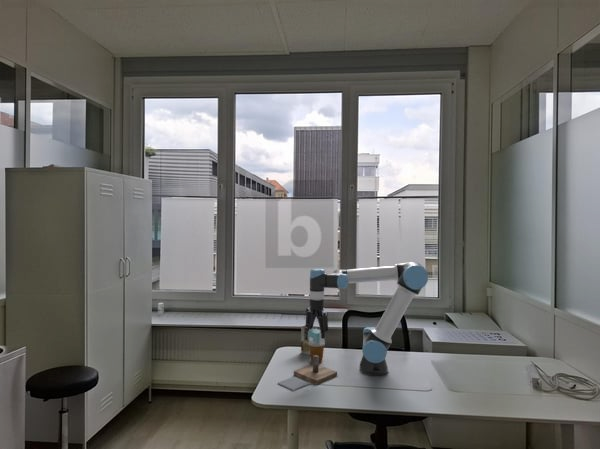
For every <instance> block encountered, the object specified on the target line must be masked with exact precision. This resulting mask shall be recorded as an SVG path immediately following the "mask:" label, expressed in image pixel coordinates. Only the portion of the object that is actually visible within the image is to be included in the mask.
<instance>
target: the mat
mask: <svg viewBox="0 0 600 449" xmlns="http://www.w3.org/2000/svg"><path fill="white" fill-rule="evenodd" d="M277 384H278V385H280V386H282V387H283V388H285V389H288V390H290V391H293V392H295V391H297V390H299V389H302V388H304V387H306V386H309V385H310V382H309V381H306V380H304V379H302V378H299V377H297V376H291V377H289V378H287V379H283V380H281V381H279V382H277Z"/></svg>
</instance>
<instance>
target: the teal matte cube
mask: <svg viewBox="0 0 600 449" xmlns="http://www.w3.org/2000/svg"><path fill="white" fill-rule="evenodd" d="M319 332H321V331H320V328H319V329H313V330H310V331H308V341H311V342H314V343H319ZM324 342H326V337H325V338H324Z"/></svg>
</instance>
